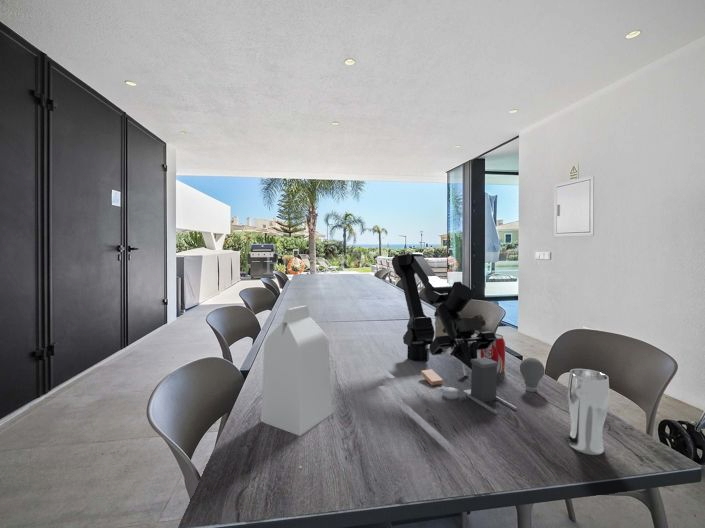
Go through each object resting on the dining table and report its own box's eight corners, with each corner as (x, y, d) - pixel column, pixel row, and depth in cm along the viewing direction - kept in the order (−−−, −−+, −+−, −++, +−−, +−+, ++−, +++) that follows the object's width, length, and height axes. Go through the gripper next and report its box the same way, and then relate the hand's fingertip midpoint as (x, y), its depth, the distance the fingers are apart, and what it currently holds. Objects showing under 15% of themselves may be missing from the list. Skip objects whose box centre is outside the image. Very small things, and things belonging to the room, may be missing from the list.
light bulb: (541, 391, 101) (543, 356, 100) (545, 400, 95) (546, 363, 95) (517, 388, 103) (519, 353, 102) (520, 397, 97) (521, 360, 97)
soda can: (506, 378, 111) (507, 339, 110) (481, 376, 112) (483, 338, 111) (501, 370, 118) (503, 333, 117) (478, 368, 119) (479, 332, 118)
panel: (410, 379, 109) (410, 370, 109) (461, 372, 115) (461, 364, 115) (470, 424, 83) (471, 412, 83) (532, 412, 89) (532, 401, 89)
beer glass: (558, 438, 77) (561, 368, 76) (589, 436, 78) (592, 367, 77) (581, 457, 70) (585, 381, 69) (615, 455, 71) (619, 380, 70)
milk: (299, 436, 78) (299, 314, 76) (261, 421, 84) (259, 308, 82) (332, 413, 88) (332, 306, 86) (295, 402, 94) (295, 301, 92)
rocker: (420, 374, 107) (421, 370, 106) (431, 372, 108) (431, 369, 108) (431, 385, 101) (432, 381, 101) (442, 383, 102) (443, 379, 102)
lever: (462, 375, 109) (458, 357, 111) (467, 374, 110) (463, 356, 111) (465, 375, 108) (462, 356, 109) (470, 374, 108) (467, 356, 110)
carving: (453, 342, 149) (454, 313, 148) (447, 347, 142) (448, 316, 142) (438, 340, 152) (439, 311, 151) (432, 344, 146) (432, 315, 145)
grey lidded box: (469, 396, 95) (470, 359, 94) (485, 393, 97) (486, 357, 96) (481, 403, 91) (482, 364, 90) (497, 400, 92) (498, 362, 92)
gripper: (435, 306, 97) (460, 360, 87) (492, 302, 103) (522, 352, 93) (419, 329, 105) (441, 381, 95) (474, 324, 111) (499, 372, 101)
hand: (476, 371), depth 96 cm, fingers closed
